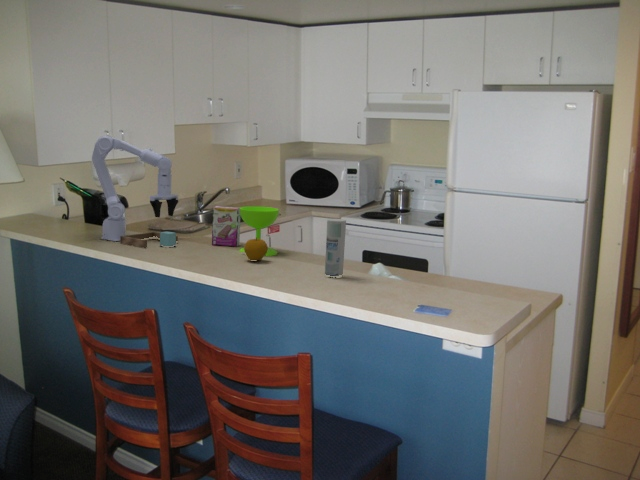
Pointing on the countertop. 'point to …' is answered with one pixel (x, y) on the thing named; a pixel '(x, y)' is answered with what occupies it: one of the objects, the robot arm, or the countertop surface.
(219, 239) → the candy bar box
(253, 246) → the apple
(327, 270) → the spray can
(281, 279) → the countertop surface
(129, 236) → the walnut crate
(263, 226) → the wineglass
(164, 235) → the teal block
